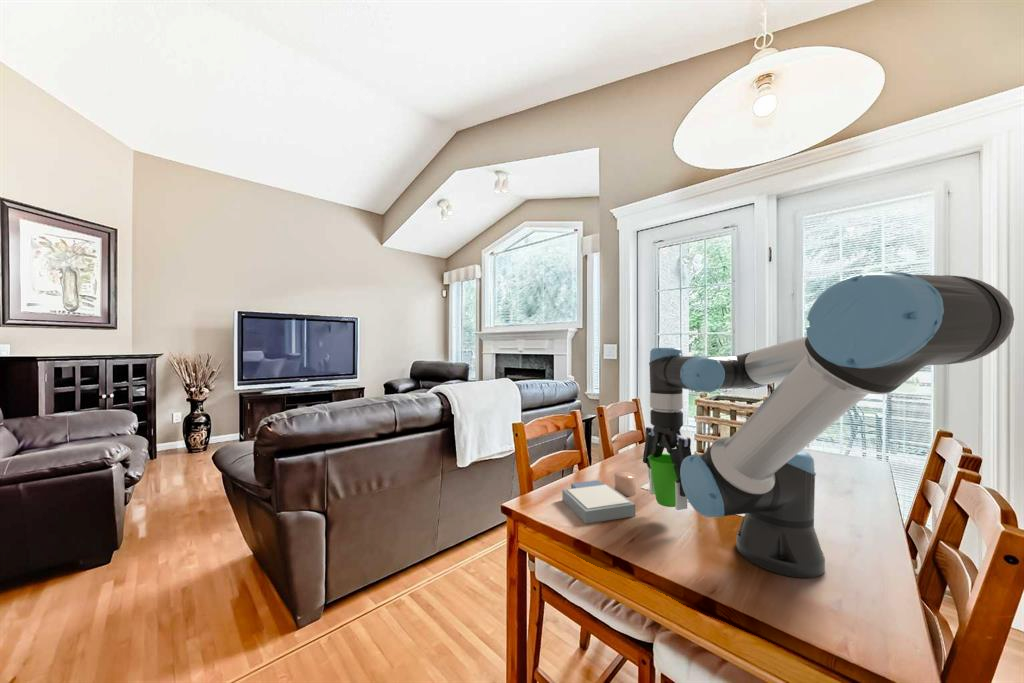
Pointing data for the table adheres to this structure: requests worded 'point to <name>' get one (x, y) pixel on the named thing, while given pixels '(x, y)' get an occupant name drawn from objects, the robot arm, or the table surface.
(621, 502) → the podium
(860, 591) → the table surface
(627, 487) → the beige rounded block
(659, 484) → the cup
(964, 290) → the robot arm
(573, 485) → the book
